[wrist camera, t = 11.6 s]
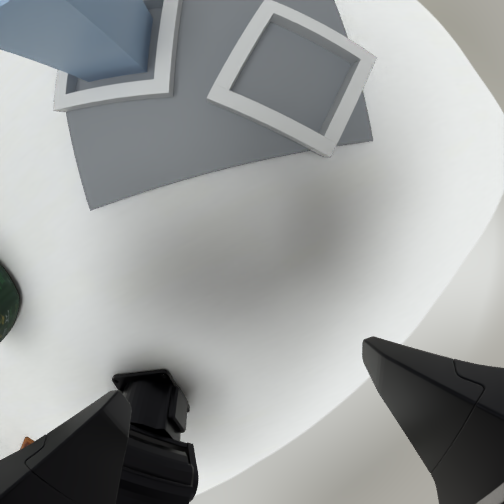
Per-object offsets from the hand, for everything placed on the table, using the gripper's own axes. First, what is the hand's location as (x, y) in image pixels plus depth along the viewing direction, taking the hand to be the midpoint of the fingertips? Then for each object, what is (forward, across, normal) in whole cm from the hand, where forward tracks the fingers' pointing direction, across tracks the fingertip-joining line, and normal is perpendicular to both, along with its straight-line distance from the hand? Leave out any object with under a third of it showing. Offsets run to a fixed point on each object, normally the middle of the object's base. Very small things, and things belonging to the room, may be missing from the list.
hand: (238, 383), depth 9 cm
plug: (+12, -4, +17) cm, 21 cm away
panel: (+13, +2, +14) cm, 19 cm away
